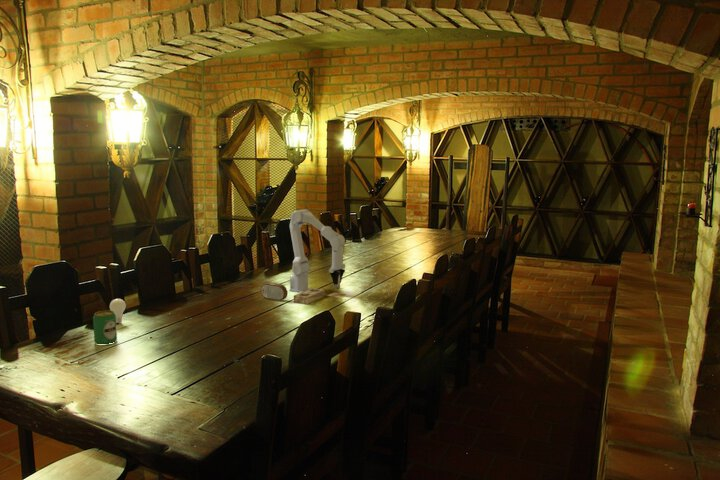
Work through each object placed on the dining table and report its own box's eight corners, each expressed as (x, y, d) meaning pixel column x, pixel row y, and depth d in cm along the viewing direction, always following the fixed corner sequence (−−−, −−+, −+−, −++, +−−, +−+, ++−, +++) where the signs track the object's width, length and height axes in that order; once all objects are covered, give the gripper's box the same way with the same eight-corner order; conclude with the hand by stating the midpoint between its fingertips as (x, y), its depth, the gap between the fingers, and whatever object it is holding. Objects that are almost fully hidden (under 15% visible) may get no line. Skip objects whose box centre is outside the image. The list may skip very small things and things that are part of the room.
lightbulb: (111, 326, 234) (109, 301, 232) (110, 322, 239) (108, 297, 238) (127, 324, 237) (125, 299, 235) (126, 320, 242) (124, 296, 240)
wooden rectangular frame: (293, 302, 275) (293, 295, 275) (311, 294, 291) (312, 287, 291) (307, 304, 272) (307, 297, 271) (325, 296, 288) (325, 289, 287)
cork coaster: (326, 296, 288) (326, 295, 288) (334, 293, 295) (334, 292, 295) (340, 298, 284) (340, 297, 284) (347, 294, 291) (347, 294, 291)
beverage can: (102, 347, 209) (100, 317, 207) (90, 343, 213) (88, 313, 211) (121, 341, 216) (119, 312, 214) (109, 337, 220) (107, 308, 218)
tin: (287, 300, 279) (287, 284, 277) (284, 302, 276) (284, 285, 275) (263, 296, 285) (263, 281, 284) (259, 298, 282) (259, 282, 281)
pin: (333, 289, 288) (333, 271, 287) (335, 287, 291) (336, 270, 289) (338, 289, 287) (338, 272, 285) (340, 288, 290) (341, 271, 288)
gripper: (337, 261, 278) (337, 287, 280) (350, 256, 291) (350, 281, 293) (325, 260, 281) (325, 285, 283) (338, 255, 294) (338, 280, 296)
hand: (337, 283), depth 288 cm, fingers closed on pin, 3 cm apart
